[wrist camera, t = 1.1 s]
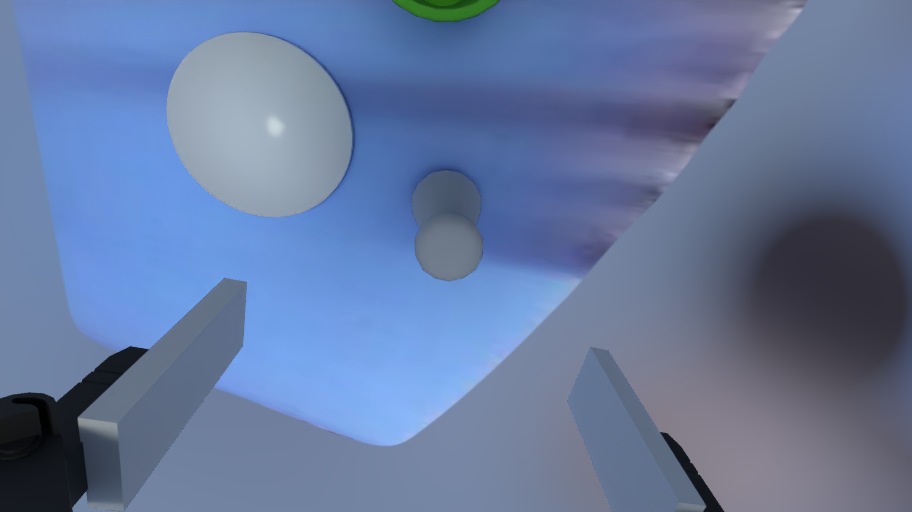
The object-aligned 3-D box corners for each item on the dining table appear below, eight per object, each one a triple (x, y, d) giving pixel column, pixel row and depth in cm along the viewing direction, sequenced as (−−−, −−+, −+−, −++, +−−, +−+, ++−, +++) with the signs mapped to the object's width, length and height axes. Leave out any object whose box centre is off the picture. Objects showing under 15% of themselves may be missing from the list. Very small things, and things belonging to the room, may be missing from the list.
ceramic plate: (283, -5, 31) (277, -8, 30) (386, 164, 36) (384, 166, 35) (135, 93, 33) (125, 94, 32) (252, 240, 38) (247, 245, 37)
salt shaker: (451, 150, 36) (459, 187, 24) (491, 202, 38) (517, 259, 26) (398, 193, 37) (381, 248, 25) (440, 240, 39) (442, 313, 27)
